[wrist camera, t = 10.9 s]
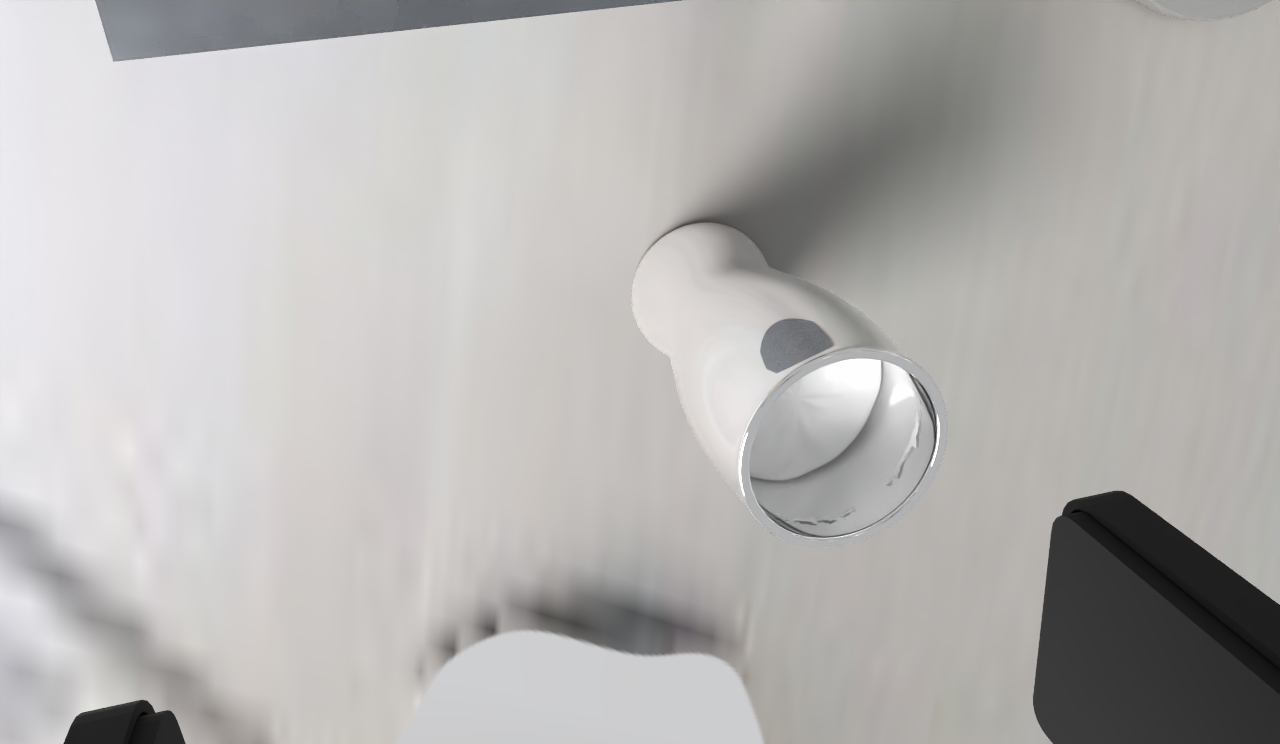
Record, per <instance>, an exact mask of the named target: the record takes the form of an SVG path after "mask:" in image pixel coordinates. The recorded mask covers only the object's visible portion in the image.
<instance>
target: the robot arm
mask: <svg viewBox="0 0 1280 744" xmlns="http://www.w3.org/2000/svg"><path fill="white" fill-rule="evenodd" d="M1135 1H1137V2H1138V3H1140V4H1141V5H1143V6H1145V7H1147V8H1149V9H1151V10H1152V11H1154V12H1156V13H1158V14H1162V15H1166V16H1170V17H1174V18H1179V19H1189V20H1202V21H1209V20H1217V19H1226V18H1232V17H1235V16H1238V15H1241V14H1243V13H1246V12H1249V11H1252V10H1255V9H1257V8H1259V7H1261V6H1262V5H1264V4H1266V3H1268V2H1269V1H1271V0H1135ZM1033 706H1034V711H1035V715H1036V717H1037V720H1038V722H1039V724H1040V726H1041V728H1042V730H1043V731H1044V733H1045V734H1046V736H1047V737H1048V738H1049V739H1050V740H1051V742H1052V743H1053V744H1280V605H1279V604H1278V603H1276V602H1275V601H1274V600H1272V599H1271V598H1270V597H1268V596H1267V595H1265V594H1264V593H1263V592H1261V591H1260V590H1259V589H1257V588H1256V587H1255V586H1253V585H1252V584H1251V583H1249V582H1248V581H1247V580H1245V579H1244V578H1242V577H1241V576H1240V575H1238V574H1237V573H1236V572H1234V571H1233V570H1232V569H1230V568H1229V567H1228V566H1226V565H1225V564H1224V563H1222V562H1221V561H1220V560H1218V559H1217V558H1215V557H1214V556H1213V555H1211V554H1210V553H1209V552H1207V551H1206V550H1205V549H1203V548H1202V547H1201V546H1199V545H1198V544H1197V543H1195V542H1194V541H1192V540H1191V539H1190V538H1188V537H1187V536H1186V535H1184V534H1183V533H1182V532H1180V531H1179V530H1178V529H1176V528H1175V527H1174V526H1172V525H1171V524H1169V523H1168V522H1167V521H1165V520H1164V519H1163V518H1161V517H1160V516H1159V515H1157V514H1156V513H1155V512H1153V511H1152V510H1151V509H1149V508H1148V507H1147V506H1145V505H1144V504H1142V503H1141V502H1140V501H1138V500H1137V499H1136V498H1134V497H1133V496H1132V495H1130V494H1128V493H1126V492H1124V491H1112V492H1107V493H1103V494H1098V495H1093V496H1089V497H1084V498H1079V499H1075V500H1072V501H1070V502H1068V503H1067V505H1066V506H1065V508H1064V510H1063V513H1062V516H1060V517H1058V518H1056V519H1055V521H1054V522H1053V526H1052V531H1051V540H1050V549H1049V558H1048V568H1047V577H1046V586H1045V595H1044V604H1043V613H1042V622H1041V631H1040V640H1039V649H1038V658H1037V668H1036V677H1035V686H1034V695H1033ZM64 744H185V741H184V738H183V735H182V733H181V730H180V727H179V725H178V722H177V720H176V718H175V715H174V714H173V713H172V712H171V711H168V710H167V711H162V712H157V713H155V711H154V709H153V707H152V705H151V704H150V703H149V702H148V701H146V700H139V701H134V702H130V703H125V704H120V705H116V706H111V707H107V708H102V709H97V710H93V711H88V712H83V713H81V714H79V715H78V716H76V718H75V719H74V721H73V723H72V725H71V727H70V729H69V732H68V734H67V737H66V739H65V742H64Z"/></svg>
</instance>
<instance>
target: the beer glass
mask: <svg viewBox="0 0 1280 744" xmlns="http://www.w3.org/2000/svg"><path fill="white" fill-rule="evenodd" d="M631 304H632V311H633V315H634V318H635V321H636V323H637V325H638V327H639V329H640V331H641V332H642V334H643V335H644V336H645V338H646V339H647V340H648V341H649V342H650V343H651V344H652V345H653V346H654V347H655V348H657V349H658V350H659V351H661V352H662V353H664V354H665V355H667V356H668V357H670V361H671V365H672V370H673V375H674V379H675V383H676V387H677V391H678V395H679V399H680V402H681V404H682V407H683V410H684V413H685V416H686V419H687V421H688V424H689V426H690V428H691V430H692V432H693V433H694V435H695V437H696V439H697V441H698V442H699V444H700V446H701V448H702V450H703V451H704V453H705V454H706V456H707V457H708V459H709V460H710V461H711V463H712V464H713V466H714V467H715V469H716V470H717V471H718V473H719V474H720V475H721V477H722V478H723V479H724V480H725V482H726V483H727V484H728V485H729V486H730V488H731V489H732V490H733V491H734V492H735V494H736V495H737V496H738V497H739V498H740V499H741V500H742V502H743V503H744V504H745V505H746V506H747V508H748V510H749V511H750V513H751V514H752V516H753V517H754V518H755V519H756V521H757V522H758V523H759V524H760V525H761V526H762V527H763V528H765V529H766V530H767V531H768V532H770V533H771V534H773V535H774V536H776V537H778V538H780V539H782V540H784V541H786V542H789V543H792V544H795V545H799V546H804V547H811V548H832V547H840V546H845V545H849V544H853V543H856V542H859V541H862V540H865V539H867V538H869V537H872V536H874V535H876V534H878V533H880V532H881V531H883V530H885V529H886V528H888V527H890V526H891V525H892V524H894V523H895V522H897V521H898V520H899V519H900V518H902V517H903V516H904V515H905V514H906V513H907V512H908V511H909V510H911V508H912V507H913V506H914V505H915V504H916V503H917V502H918V501H919V500H920V498H921V497H922V496H923V495H924V493H925V492H926V491H927V489H928V488H929V486H930V484H931V483H932V481H933V479H934V477H935V475H936V473H937V471H938V469H939V467H940V464H941V461H942V459H943V455H944V451H945V447H946V441H947V432H948V422H947V413H946V408H945V404H944V401H943V398H942V395H941V393H940V391H939V389H938V387H937V385H936V384H935V382H934V381H933V379H932V378H931V377H930V376H929V374H928V373H927V372H926V371H925V370H924V369H923V368H922V367H920V366H919V365H918V364H917V363H915V362H914V361H913V360H912V359H911V358H910V357H909V356H908V355H907V354H906V353H905V352H904V350H903V349H902V348H901V347H900V346H899V345H898V344H897V343H896V342H895V341H894V340H893V339H892V338H891V337H890V336H889V335H888V334H887V333H886V332H885V331H884V330H883V329H882V328H880V327H879V326H878V325H877V324H876V323H875V322H874V321H872V320H871V319H870V318H869V317H868V316H867V315H865V314H864V313H863V312H862V311H860V310H859V309H858V308H856V307H855V306H853V305H852V304H850V303H849V302H847V301H846V300H845V299H843V298H842V297H840V296H839V295H837V294H835V293H833V292H832V291H830V290H827V289H825V288H823V287H821V286H819V285H817V284H814V283H812V282H810V281H808V280H805V279H802V278H799V277H796V276H793V275H791V274H788V273H785V272H781V271H778V270H775V269H772V268H769V266H768V264H767V262H766V260H765V258H764V256H763V255H762V253H761V251H760V250H759V249H758V247H757V246H756V245H755V244H754V243H753V242H752V241H751V240H750V239H749V238H748V237H747V236H746V235H745V234H743V233H742V232H740V231H738V230H736V229H735V228H732V227H730V226H727V225H723V224H719V223H711V222H701V223H693V224H689V225H685V226H682V227H680V228H677V229H675V230H673V231H671V232H669V233H668V234H666V235H665V236H663V237H662V238H661V239H659V240H658V241H657V242H656V243H655V244H654V245H653V246H652V247H651V248H650V249H649V250H648V251H647V253H646V254H645V255H644V257H643V258H642V260H641V262H640V264H639V265H638V268H637V270H636V273H635V275H634V279H633V283H632V290H631Z"/></svg>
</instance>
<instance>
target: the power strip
mask: <svg viewBox="0 0 1280 744" xmlns="http://www.w3.org/2000/svg"><path fill="white" fill-rule="evenodd" d="M95 1H96V4H97V8H98V11H99V14H100V18H101V21H102V25H103V28H104V31H105V35H106V38H107V42H108V45H109V48H110V52H111V55H112V58H113V62H114V61H124V60H133V59H142V58H152V57H161V56H170V55H179V54H189V53H198V52H207V51H217V50H226V49H235V48H244V47H254V46H263V45H272V44H282V43H291V42H300V41H309V40H319V39H328V38H337V37H347V36H356V35H365V34H374V33H384V32H393V31H402V30H412V29H421V28H430V27H439V26H449V25H458V24H467V23H476V22H486V21H495V20H504V19H514V18H523V17H532V16H541V15H551V14H560V13H569V12H579V11H588V10H597V9H606V8H616V7H625V6H634V5H644V4H653V3H662V2H671V1H681V0H95Z"/></svg>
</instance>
